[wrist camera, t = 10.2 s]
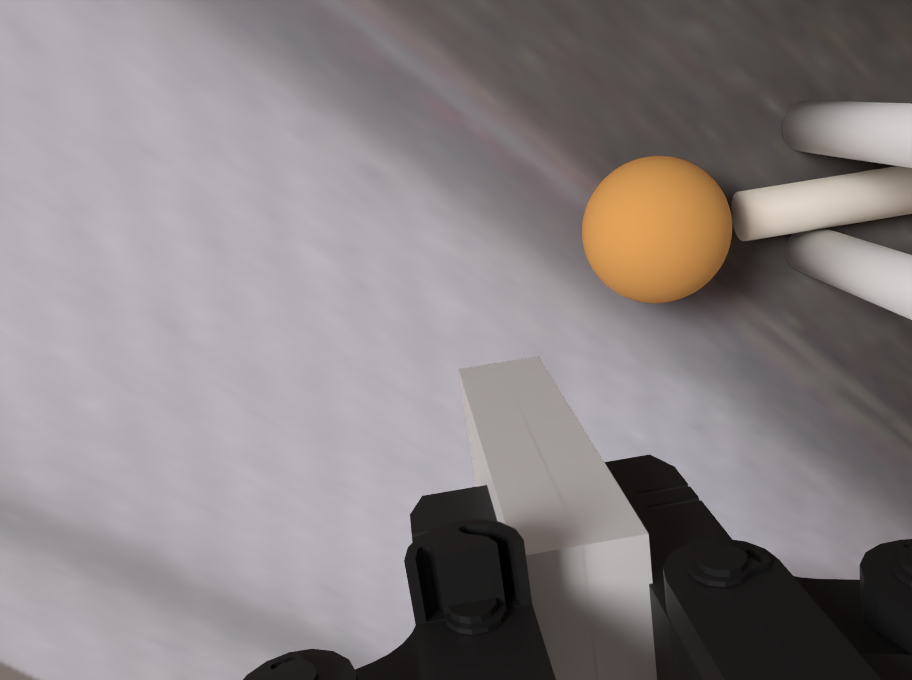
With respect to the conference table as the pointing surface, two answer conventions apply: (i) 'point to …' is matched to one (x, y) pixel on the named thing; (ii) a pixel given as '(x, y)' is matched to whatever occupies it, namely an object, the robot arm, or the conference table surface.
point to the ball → (657, 229)
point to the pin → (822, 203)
